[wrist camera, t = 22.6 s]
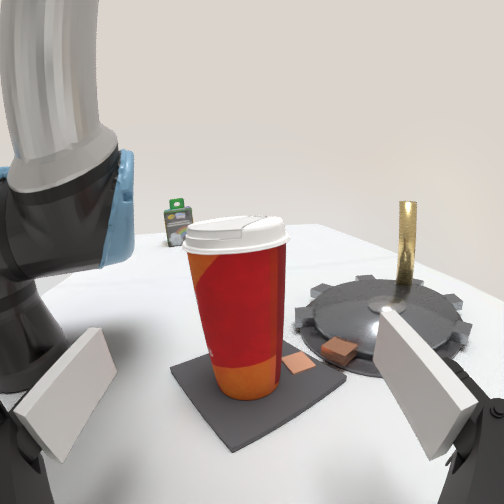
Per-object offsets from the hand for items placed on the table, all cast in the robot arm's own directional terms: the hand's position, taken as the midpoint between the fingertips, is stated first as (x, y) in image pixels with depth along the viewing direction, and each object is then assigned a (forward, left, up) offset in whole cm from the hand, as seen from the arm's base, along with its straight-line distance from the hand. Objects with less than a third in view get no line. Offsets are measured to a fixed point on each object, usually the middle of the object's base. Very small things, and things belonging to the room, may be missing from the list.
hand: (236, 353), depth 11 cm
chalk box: (-77, +25, -10) cm, 81 cm away
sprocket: (-5, +24, -10) cm, 26 cm away
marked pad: (-8, +6, -10) cm, 14 cm away
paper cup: (-8, +5, -10) cm, 13 cm away
